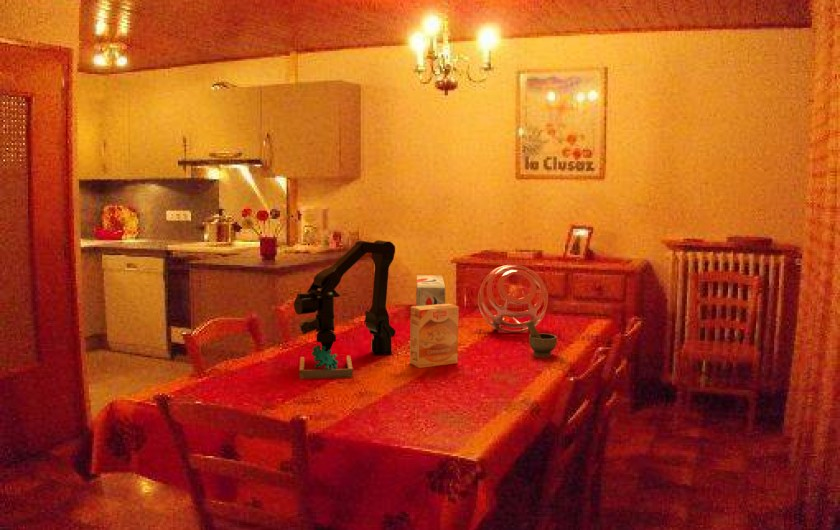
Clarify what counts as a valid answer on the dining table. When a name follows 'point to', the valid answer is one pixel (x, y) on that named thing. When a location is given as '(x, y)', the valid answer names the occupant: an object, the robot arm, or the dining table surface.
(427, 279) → the soda pack
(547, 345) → the mortar and pestle
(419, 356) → the coffeecake box
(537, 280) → the spiral basket
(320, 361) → the gear
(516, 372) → the dining table surface
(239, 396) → the dining table surface
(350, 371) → the mount cradle
